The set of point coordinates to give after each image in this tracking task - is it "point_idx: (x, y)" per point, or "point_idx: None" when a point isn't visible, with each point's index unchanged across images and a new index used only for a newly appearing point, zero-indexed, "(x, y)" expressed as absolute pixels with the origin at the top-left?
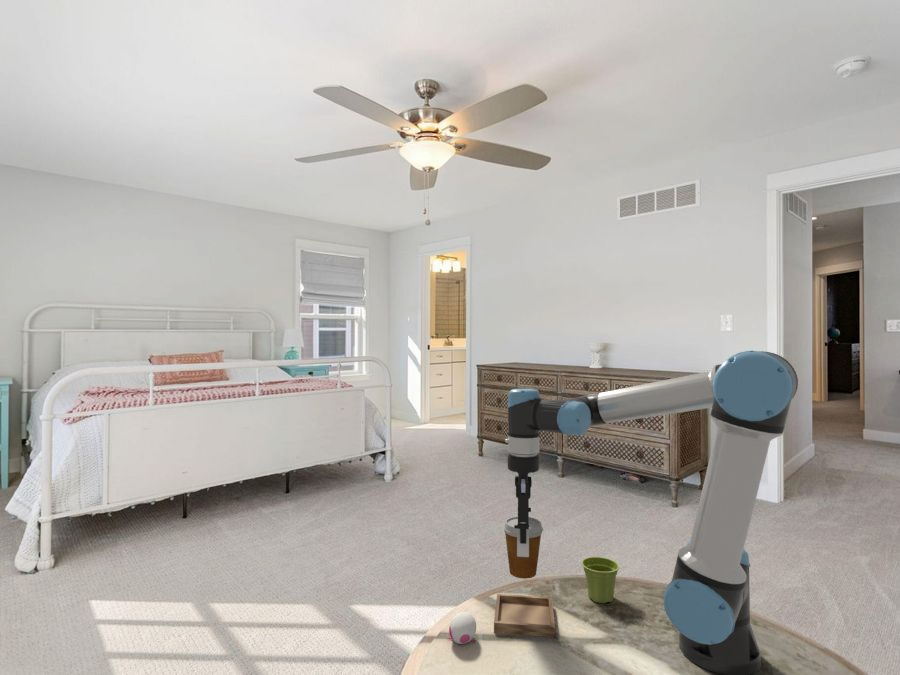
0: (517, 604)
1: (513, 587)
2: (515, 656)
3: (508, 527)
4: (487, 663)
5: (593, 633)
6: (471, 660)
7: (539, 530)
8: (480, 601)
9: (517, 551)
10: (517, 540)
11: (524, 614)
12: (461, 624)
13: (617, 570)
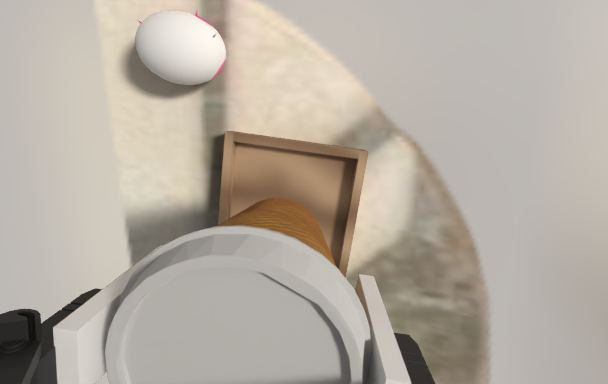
0: (338, 198)
1: (441, 199)
2: (151, 168)
3: (159, 264)
4: (121, 109)
5: None
6: (127, 75)
7: None
8: (372, 106)
9: (148, 255)
10: (112, 282)
11: None
12: (138, 38)
13: None
